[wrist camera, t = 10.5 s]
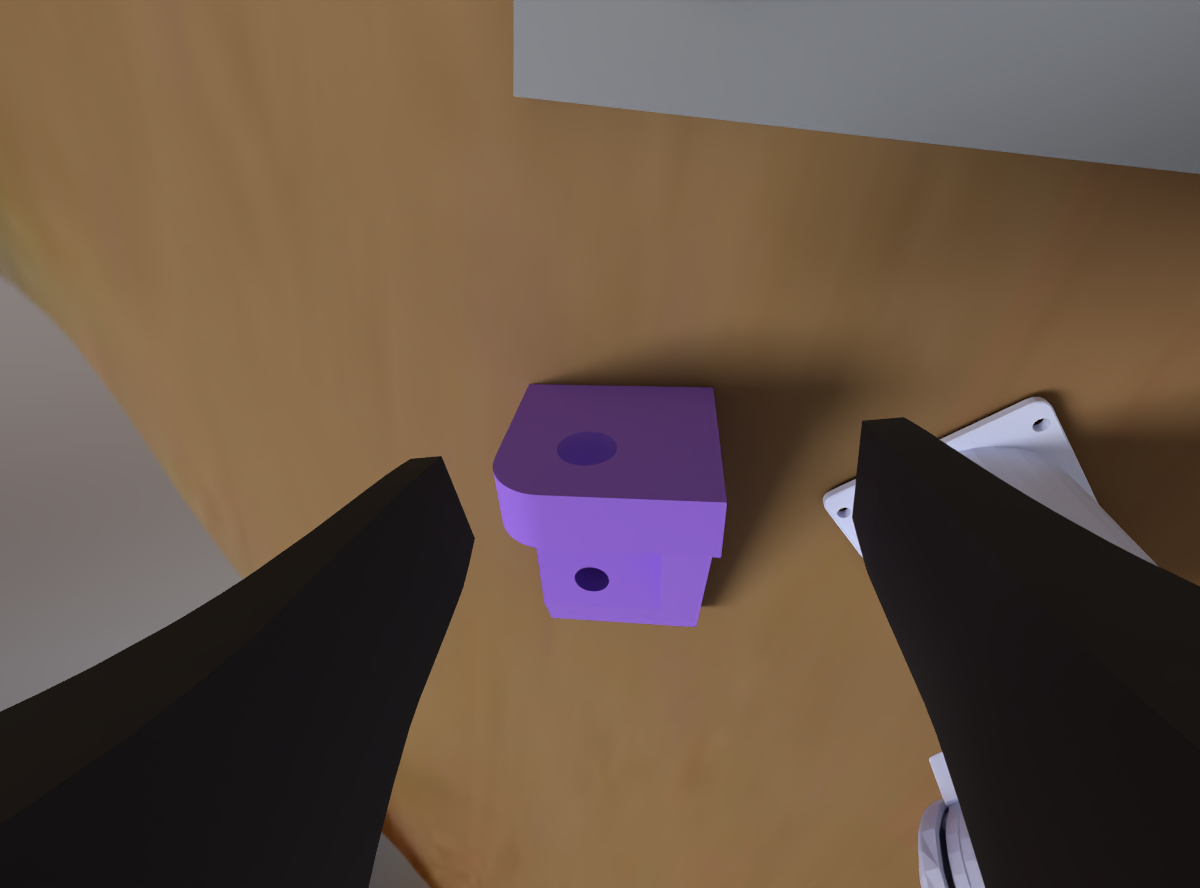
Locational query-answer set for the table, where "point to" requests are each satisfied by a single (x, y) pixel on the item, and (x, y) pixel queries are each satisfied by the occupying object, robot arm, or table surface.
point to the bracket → (616, 498)
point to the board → (889, 69)
